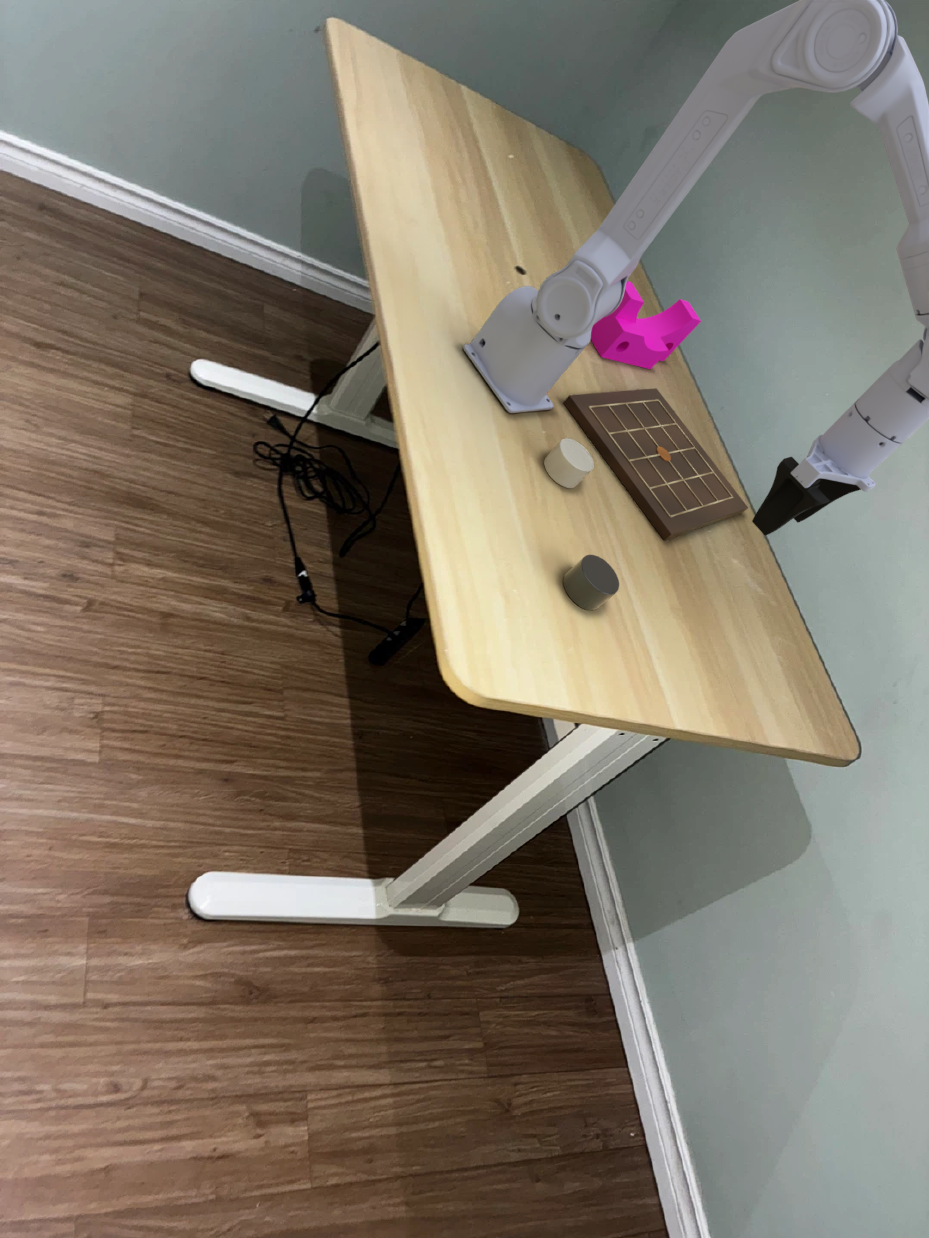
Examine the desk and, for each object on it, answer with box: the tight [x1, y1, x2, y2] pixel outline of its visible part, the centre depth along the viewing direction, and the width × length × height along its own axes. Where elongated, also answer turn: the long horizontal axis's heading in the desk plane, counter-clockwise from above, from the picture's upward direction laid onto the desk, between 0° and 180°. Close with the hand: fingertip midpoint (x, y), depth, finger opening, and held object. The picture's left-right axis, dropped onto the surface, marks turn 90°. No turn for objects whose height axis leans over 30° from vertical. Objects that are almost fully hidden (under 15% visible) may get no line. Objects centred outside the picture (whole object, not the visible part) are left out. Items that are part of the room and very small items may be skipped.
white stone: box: [543, 437, 595, 489], centre depth 85 cm, size 4×4×3 cm
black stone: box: [562, 554, 620, 611], centre depth 75 cm, size 4×4×3 cm
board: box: [563, 387, 749, 541], centre depth 98 cm, size 20×20×1 cm
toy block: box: [590, 280, 702, 370], centre depth 109 cm, size 15×6×8 cm, turn 115°
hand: (776, 521), depth 84 cm, fingers open, 7 cm apart
